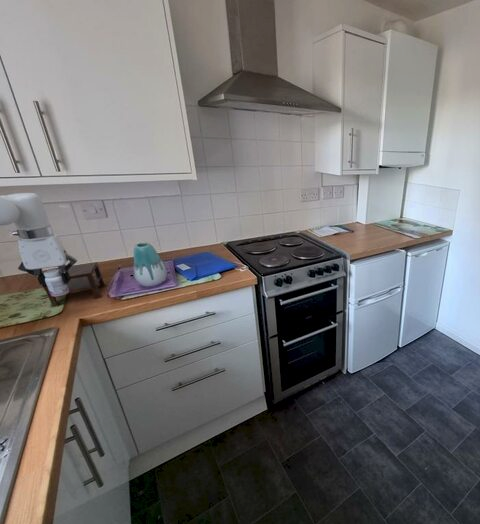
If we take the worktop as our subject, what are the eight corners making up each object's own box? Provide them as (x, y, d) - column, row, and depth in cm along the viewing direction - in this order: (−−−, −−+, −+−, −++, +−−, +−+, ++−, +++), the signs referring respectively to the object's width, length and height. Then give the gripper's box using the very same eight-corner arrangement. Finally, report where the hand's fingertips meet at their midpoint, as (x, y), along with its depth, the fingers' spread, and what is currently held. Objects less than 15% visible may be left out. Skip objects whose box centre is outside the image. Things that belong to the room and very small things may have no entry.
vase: (173, 283, 128) (162, 243, 121) (141, 292, 120) (128, 251, 113) (164, 274, 135) (154, 237, 128) (134, 283, 128) (122, 243, 121)
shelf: (52, 306, 110) (40, 280, 106) (62, 292, 120) (51, 268, 116) (99, 297, 117) (90, 272, 112) (105, 284, 126) (96, 261, 122)
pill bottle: (50, 293, 103) (40, 271, 100) (68, 289, 107) (59, 267, 103) (52, 298, 100) (42, 275, 97) (70, 293, 104) (62, 271, 101)
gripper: (-7, 239, 88) (17, 294, 95) (67, 232, 96) (85, 283, 103) (4, 233, 94) (27, 284, 101) (74, 227, 102) (90, 275, 109)
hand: (56, 283), depth 102 cm, fingers closed on pill bottle, 4 cm apart
